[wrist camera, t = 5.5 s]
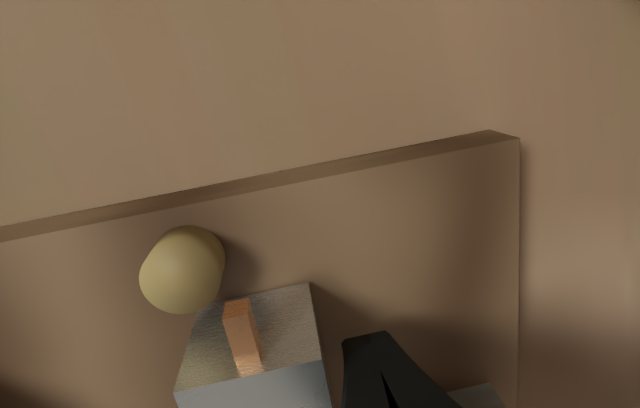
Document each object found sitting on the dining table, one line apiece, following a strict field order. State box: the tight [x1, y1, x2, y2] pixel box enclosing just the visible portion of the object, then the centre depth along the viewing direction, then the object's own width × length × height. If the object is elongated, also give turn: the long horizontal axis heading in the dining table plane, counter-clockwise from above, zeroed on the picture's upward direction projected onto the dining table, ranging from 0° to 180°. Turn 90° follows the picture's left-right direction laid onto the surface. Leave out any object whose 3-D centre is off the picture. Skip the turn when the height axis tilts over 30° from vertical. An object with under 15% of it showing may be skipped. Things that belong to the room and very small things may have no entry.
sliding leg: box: [173, 282, 335, 408], centre depth 10 cm, size 3×6×3 cm, turn 10°
